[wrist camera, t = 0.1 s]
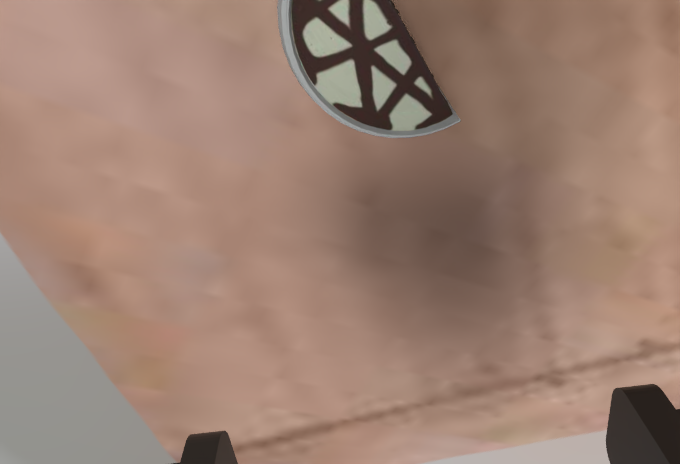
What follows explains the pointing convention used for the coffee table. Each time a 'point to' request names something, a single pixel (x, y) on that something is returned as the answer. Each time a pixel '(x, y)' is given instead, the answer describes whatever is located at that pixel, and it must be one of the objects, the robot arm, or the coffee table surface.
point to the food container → (362, 66)
